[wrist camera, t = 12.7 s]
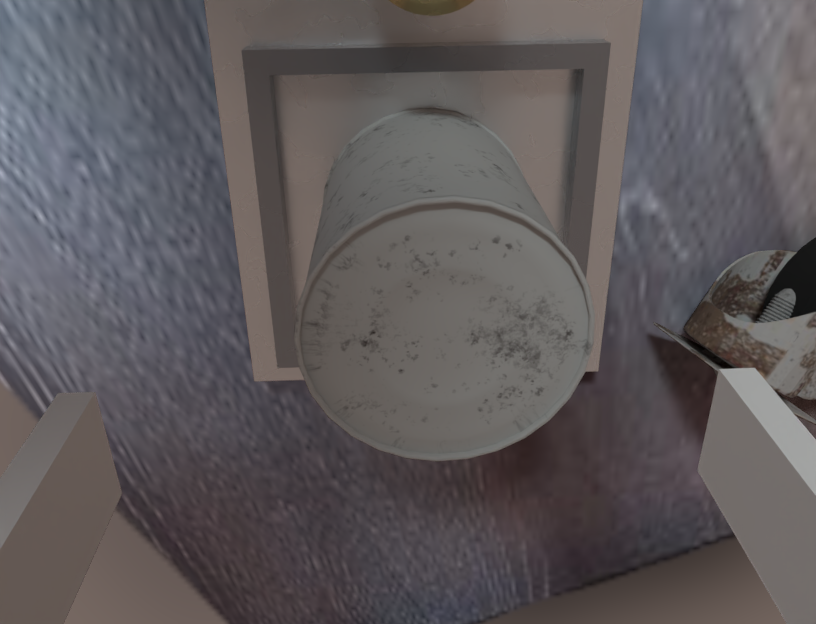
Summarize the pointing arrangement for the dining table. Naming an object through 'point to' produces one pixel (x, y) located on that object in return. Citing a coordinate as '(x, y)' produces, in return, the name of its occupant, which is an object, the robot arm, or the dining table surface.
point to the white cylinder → (439, 294)
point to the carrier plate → (406, 90)
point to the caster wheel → (762, 321)
